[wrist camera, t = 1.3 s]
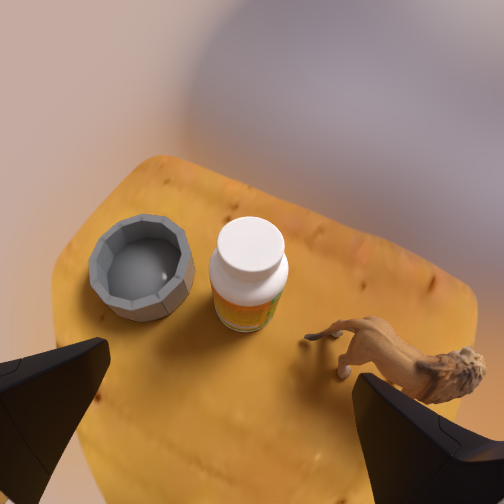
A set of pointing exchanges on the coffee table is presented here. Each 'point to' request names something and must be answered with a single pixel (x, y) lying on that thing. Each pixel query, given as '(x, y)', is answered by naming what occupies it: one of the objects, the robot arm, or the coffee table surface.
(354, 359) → the lion figurine
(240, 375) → the coffee table surface
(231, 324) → the supplement bottle
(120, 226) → the grey faceted bowl
